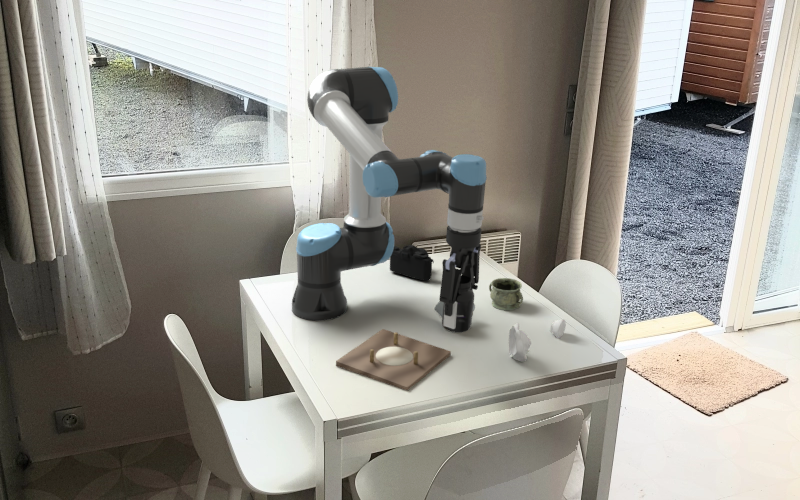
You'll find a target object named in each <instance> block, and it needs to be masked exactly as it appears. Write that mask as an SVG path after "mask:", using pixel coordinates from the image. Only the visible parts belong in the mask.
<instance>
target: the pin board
mask: <svg viewBox="0 0 800 500" xmlns="http://www.w3.org/2000/svg"><path fill="white" fill-rule="evenodd" d="M451 355H452V351H451V350H448V349H445V348H443V347H442V348H441V347H439V346H436V345H432V344H429V343H427V342H424V341H420V340H418V339H414V338H411V337H409V336H406V335H403V334H399V333H398V332H394V331H390V330H387V329H384V328H382V329H381V330H379V331H377V333H375V334H373V335H371V336H370V337H369V338H368V339H366V340H364V341H363V342H361V343H360V344H358V345H357V346H356V347H354V348H353V349H351V350H349V352H347V353H346V354H344V355H343V356H342V357H340V358H339V359H337V360H335V366H336V367H339V368H341V369H345V370H347V371H349V372H353V373H355V374H359V375H362V376H364V377H367V378H370V379H373V380H376V381H378V382H382V383H385V384H388V385H390V386H392V387H395V388H398V389H401V390H405V391H409V390H410V389H411V388H412V387H414V386H415V385H417V383H419V382H420V381H422V380H423V379H424V378H425V377H426V376H427V375H428V374H430V373H431V372H433V370H435V369H436V368H438V366H439V365H441V364H442V363H444V362H445V361H446V360H447V359H448V358H449V357H451Z"/></svg>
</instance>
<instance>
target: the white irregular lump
mask: <svg viewBox="0 0 800 500" xmlns="http://www.w3.org/2000/svg"><path fill="white" fill-rule="evenodd" d="M566 323H567V322H566V319H557V320H552V321H551V324H550V328H549V331H550V333H552V334H553V336H554V337H555V338H557V339H560V338H562V337H563V335H564V334H565V332H566Z"/></svg>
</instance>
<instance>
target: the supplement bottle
mask: <svg viewBox="0 0 800 500" xmlns="http://www.w3.org/2000/svg"><path fill="white" fill-rule="evenodd" d="M455 301H456V302H457V313H456V327H455V329H452V328H449V327H446V326H443V323H444V308H445V303H443V314H442V317H441V325H442V328H444V330H446V331H448V332H451V333H457V334H458V333H460V334H461V333H467V332H468V331H470V329H471V328H472V323H473V316H472V314H473V315H474V311H473V305H475V303H474V302H475V293H474V290H473V291H472V290H471V279H470V278H469V277H467V276H464V275H461V279H460V283H459V287H458V291H457V296H456V300H455Z"/></svg>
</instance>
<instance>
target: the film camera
mask: <svg viewBox="0 0 800 500" xmlns="http://www.w3.org/2000/svg"><path fill="white" fill-rule="evenodd" d="M434 262H435V260H434V259H433V258H431V256H429V253H428V251H427V250H426V249H425V248H422V247H417V246H416V245H413V244H409V245H405V246H403V248H400V247H398V246H395V245H394V249H393V252H392V255H391V257H390V258H389V271H390V272H393V273H396V274H399V275H403V276H406V277H409V278H412V279H416V280H420V281H423V282H428V281H430V280H431V279H432V277H431V276H432V271H433V269H432V268H433V267H432V266H433V264H434Z"/></svg>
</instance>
